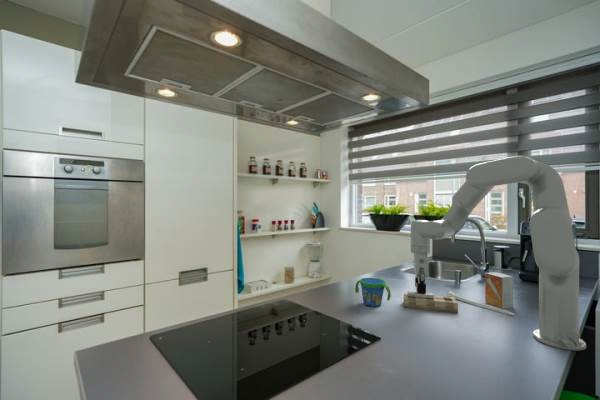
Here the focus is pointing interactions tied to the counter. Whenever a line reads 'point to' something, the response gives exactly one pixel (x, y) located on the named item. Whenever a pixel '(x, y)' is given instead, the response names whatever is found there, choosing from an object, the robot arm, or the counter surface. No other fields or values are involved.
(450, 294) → the spatula
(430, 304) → the rail
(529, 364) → the counter surface
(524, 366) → the counter surface
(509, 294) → the small box
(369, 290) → the snack cup
